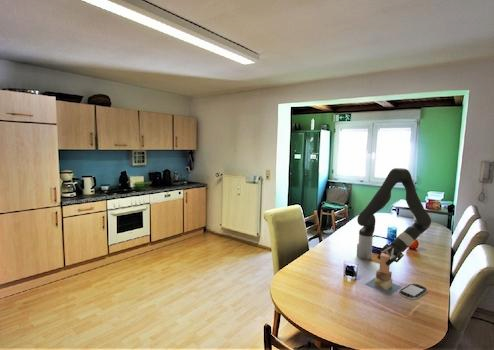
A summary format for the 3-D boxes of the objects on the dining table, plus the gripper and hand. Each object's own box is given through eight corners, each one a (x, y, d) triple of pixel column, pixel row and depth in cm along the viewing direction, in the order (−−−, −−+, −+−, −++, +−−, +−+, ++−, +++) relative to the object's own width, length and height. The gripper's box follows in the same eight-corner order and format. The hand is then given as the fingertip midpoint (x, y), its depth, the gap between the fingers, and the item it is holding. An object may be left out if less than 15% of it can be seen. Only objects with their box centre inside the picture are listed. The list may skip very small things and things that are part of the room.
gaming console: (413, 303, 144) (413, 298, 144) (396, 295, 151) (396, 291, 151) (429, 292, 155) (430, 288, 155) (412, 285, 162) (413, 281, 162)
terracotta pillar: (379, 271, 158) (380, 255, 157) (380, 269, 162) (381, 252, 161) (388, 274, 155) (389, 257, 154) (389, 271, 159) (390, 254, 158)
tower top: (376, 277, 159) (376, 271, 159) (380, 274, 163) (381, 268, 163) (386, 281, 155) (387, 275, 154) (391, 278, 159) (391, 271, 158)
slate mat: (364, 285, 160) (364, 284, 160) (376, 278, 170) (376, 276, 170) (390, 296, 149) (390, 295, 149) (402, 287, 159) (402, 286, 158)
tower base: (374, 285, 160) (374, 277, 159) (379, 281, 164) (380, 274, 164) (386, 289, 155) (387, 282, 154) (391, 286, 159) (392, 278, 159)
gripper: (391, 233, 164) (371, 252, 164) (407, 241, 150) (385, 262, 150) (399, 241, 165) (379, 260, 165) (415, 251, 151) (394, 271, 151)
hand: (382, 261), depth 158 cm, fingers open, 8 cm apart
